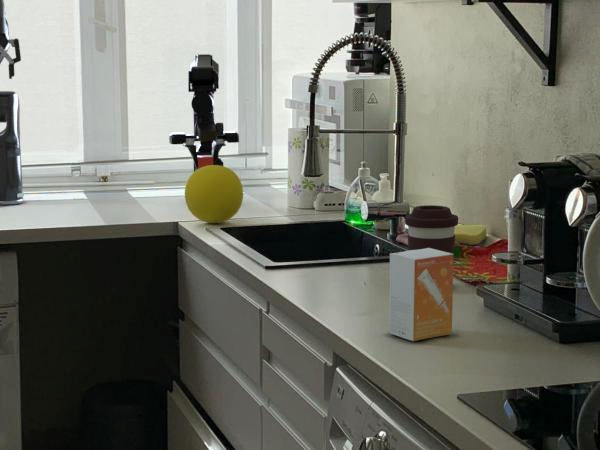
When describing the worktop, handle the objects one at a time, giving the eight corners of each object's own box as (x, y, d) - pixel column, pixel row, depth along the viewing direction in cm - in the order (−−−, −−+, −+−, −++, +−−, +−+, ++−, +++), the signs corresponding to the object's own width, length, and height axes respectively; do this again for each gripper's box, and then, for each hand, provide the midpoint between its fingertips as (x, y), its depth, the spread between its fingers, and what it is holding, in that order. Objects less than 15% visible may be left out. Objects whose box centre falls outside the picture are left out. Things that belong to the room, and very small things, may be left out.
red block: (199, 174, 288) (198, 157, 287) (196, 172, 292) (196, 155, 292) (213, 173, 289) (213, 156, 288) (210, 171, 293) (210, 155, 293)
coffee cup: (400, 280, 202) (400, 204, 200) (450, 279, 203) (451, 203, 201) (409, 292, 193) (410, 212, 190) (462, 291, 193) (463, 211, 191)
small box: (413, 342, 160) (414, 259, 158) (387, 333, 165) (388, 252, 163) (453, 334, 164) (454, 253, 162) (427, 325, 170) (428, 246, 168)
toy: (233, 216, 283) (232, 161, 280) (250, 224, 269) (249, 166, 266) (179, 219, 278) (177, 163, 275) (194, 228, 264) (192, 169, 261)
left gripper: (-40, 15, 266) (-36, 79, 268) (18, 15, 269) (21, 78, 272) (-38, 16, 273) (-34, 79, 276) (18, 16, 276) (22, 78, 279)
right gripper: (173, 115, 278) (175, 173, 281) (242, 113, 283) (243, 170, 285) (168, 112, 289) (170, 168, 291) (234, 111, 293) (235, 166, 296)
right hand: (204, 168), depth 291 cm, fingers closed on red block, 4 cm apart
